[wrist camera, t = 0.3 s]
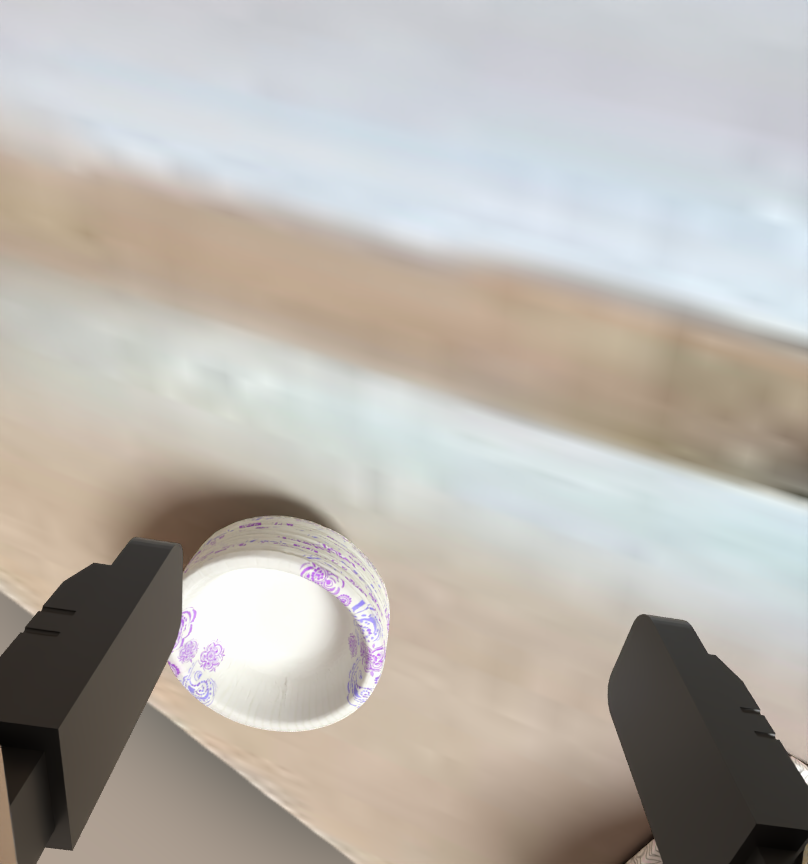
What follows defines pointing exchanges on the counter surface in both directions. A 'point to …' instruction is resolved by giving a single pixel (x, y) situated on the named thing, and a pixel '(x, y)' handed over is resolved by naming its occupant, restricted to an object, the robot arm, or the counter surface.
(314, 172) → the counter surface
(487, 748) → the counter surface
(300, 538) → the paper bowls
